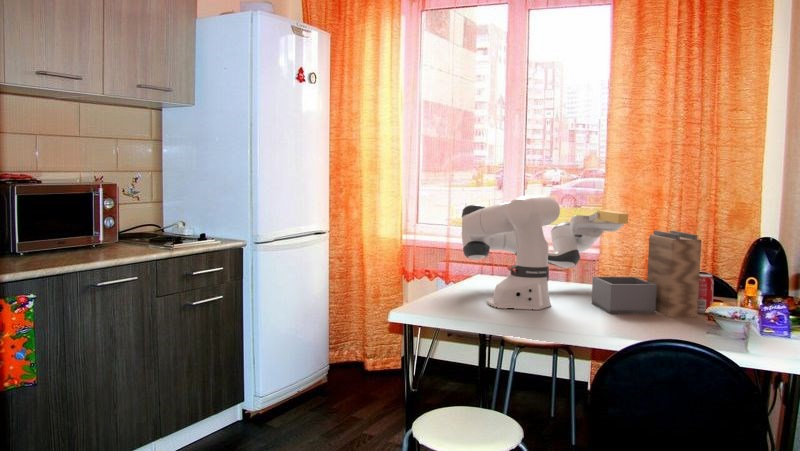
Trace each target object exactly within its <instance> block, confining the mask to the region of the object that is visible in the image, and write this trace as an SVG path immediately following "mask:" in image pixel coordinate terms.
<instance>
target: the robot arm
mask: <svg viewBox="0 0 800 451" xmlns="http://www.w3.org/2000/svg"><path fill="white" fill-rule="evenodd" d="M560 214H561V209H560V204H559V203H558V201H557V200H556V199H554V198H552V197H550V196H548V195H522V196H519V197H516V198H515V199H512V200H511V201H507V202H502V203H499V204H495V205H491V206H486V207H485V206H484V205H482V204H475V203H474V204H470V205H467V206H465V207H463V209H462V213H461V218H462V220H461V242H462V251H463V255H464V256H465V257H466V258H467V259H470V260H476V261H478V260H482V259H484V258H485V259H486V258H487V257H488V256H489V254H490V250H491V251H505V252H507V253H508V252H509V253H511V254H514V255H515V257H516V259H515V262H516V263H515V264H513V265H512V264H508V265H507V266H506V269H507V270H508V271H509V272H510V275H508V276H507V277H506V278H504V279H503V280H501V281H500V282H499V283H497V284H496V286H495V287H494V291H493V297H488V298H487V300H486V303H487V305H489V306H490V305H491V307H492V306H494V307H493V308H496V307H497V308H496V309H507V308H514V309H513V310H532V309H533V310H534V311H535V310H537V311H540V310H543V309H546V308H549V307H551V306H552V303H551V299H550V295H549V294H550V293H549V285H548V284H549V283H548V282H549V279H550V266H549V265H553V266H555V267H559V268H563V269H570V268H574V267H575V266H577V265H578V263H579V262H580V260H581V255H580V253H582V252H584V251H586V250H588V249H589V248H591V247H592V246H593V244H595V242H596V241H597V240H598V239H599V238H600V237H601V236H602V234H603V233H604V232H616V231H619V230H620V229H621V228H623V227H624V226H625V224H622V223H614V222H608V221H603V220H598V219H597V218H599V217H600V213H599V212H597V211H596V212H594V213H592V214H590V215H586V214H585V215H584V214H581V215H580V214H575V215H573V216H572V217H571V218H570V221H569V222H568V221H567V222H560V223H558V224H556V225H555V226H554V227H553V228H552V229H551V231H550V234H551V235H550V236H551V242H552V249H553V252H551V251H549V243H548V242H547V239H546V238H545V235H544V229H543V227H544V226H545V227H546V226H549V225H550V224H553V223H554V222H556V221H557V220H558V218H559V216H560Z"/></svg>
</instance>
